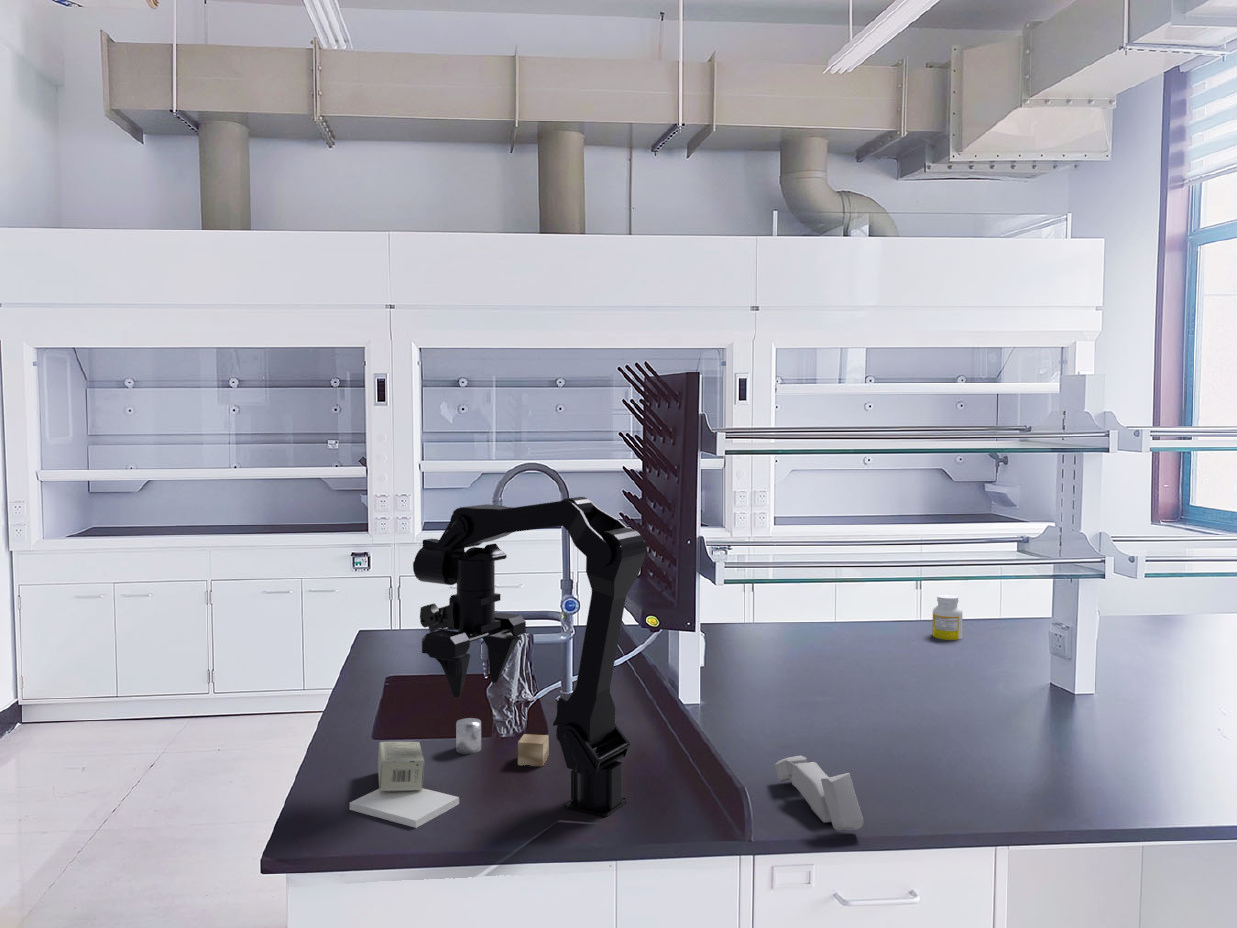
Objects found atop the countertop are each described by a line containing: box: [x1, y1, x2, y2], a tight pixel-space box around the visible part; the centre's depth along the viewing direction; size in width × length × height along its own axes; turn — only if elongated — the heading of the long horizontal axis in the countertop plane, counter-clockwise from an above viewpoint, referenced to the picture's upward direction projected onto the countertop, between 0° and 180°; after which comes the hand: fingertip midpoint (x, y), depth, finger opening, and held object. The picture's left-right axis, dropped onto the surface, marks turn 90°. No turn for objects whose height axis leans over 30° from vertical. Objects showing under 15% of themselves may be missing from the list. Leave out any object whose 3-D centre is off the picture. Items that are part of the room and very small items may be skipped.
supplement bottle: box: [931, 594, 963, 641], centre depth 225 cm, size 7×7×13 cm
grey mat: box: [349, 787, 460, 829], centre depth 134 cm, size 12×9×1 cm
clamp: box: [774, 754, 865, 832], centre depth 134 cm, size 20×4×7 cm, turn 15°
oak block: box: [517, 733, 550, 767], centre depth 151 cm, size 4×4×4 cm
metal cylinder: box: [455, 717, 482, 755], centre depth 156 cm, size 4×4×5 cm
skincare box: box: [377, 741, 425, 791], centre depth 142 cm, size 6×4×12 cm
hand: (476, 689), depth 146 cm, fingers open, 9 cm apart
